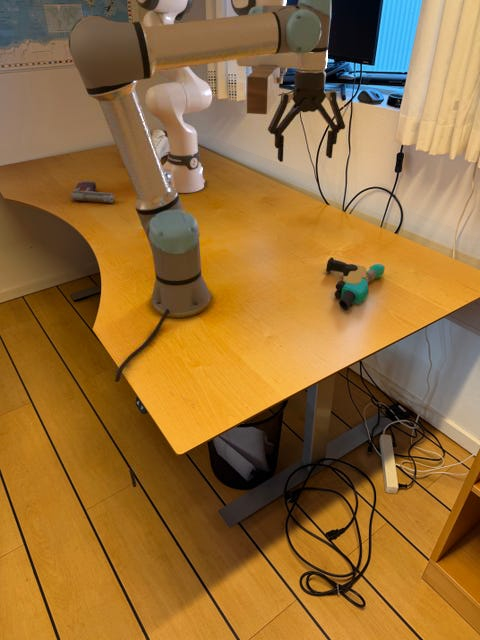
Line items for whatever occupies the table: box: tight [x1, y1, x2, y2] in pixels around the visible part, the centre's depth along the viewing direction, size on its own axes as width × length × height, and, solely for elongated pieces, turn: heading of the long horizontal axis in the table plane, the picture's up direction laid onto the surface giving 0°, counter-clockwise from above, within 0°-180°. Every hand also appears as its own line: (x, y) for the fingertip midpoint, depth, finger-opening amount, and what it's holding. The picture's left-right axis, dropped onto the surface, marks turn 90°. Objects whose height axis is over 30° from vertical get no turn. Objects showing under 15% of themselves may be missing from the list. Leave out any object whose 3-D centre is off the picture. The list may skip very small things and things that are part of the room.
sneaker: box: [151, 129, 170, 161], centre depth 220 cm, size 10×29×12 cm, turn 163°
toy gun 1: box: [69, 180, 115, 204], centre depth 185 cm, size 4×19×15 cm
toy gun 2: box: [325, 257, 386, 312], centre depth 129 cm, size 4×26×15 cm
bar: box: [246, 65, 281, 115], centre depth 143 cm, size 25×6×10 cm, turn 168°
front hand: (304, 158), depth 128 cm, fingers open, 13 cm apart
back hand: (268, 82), depth 150 cm, fingers closed on bar, 6 cm apart
